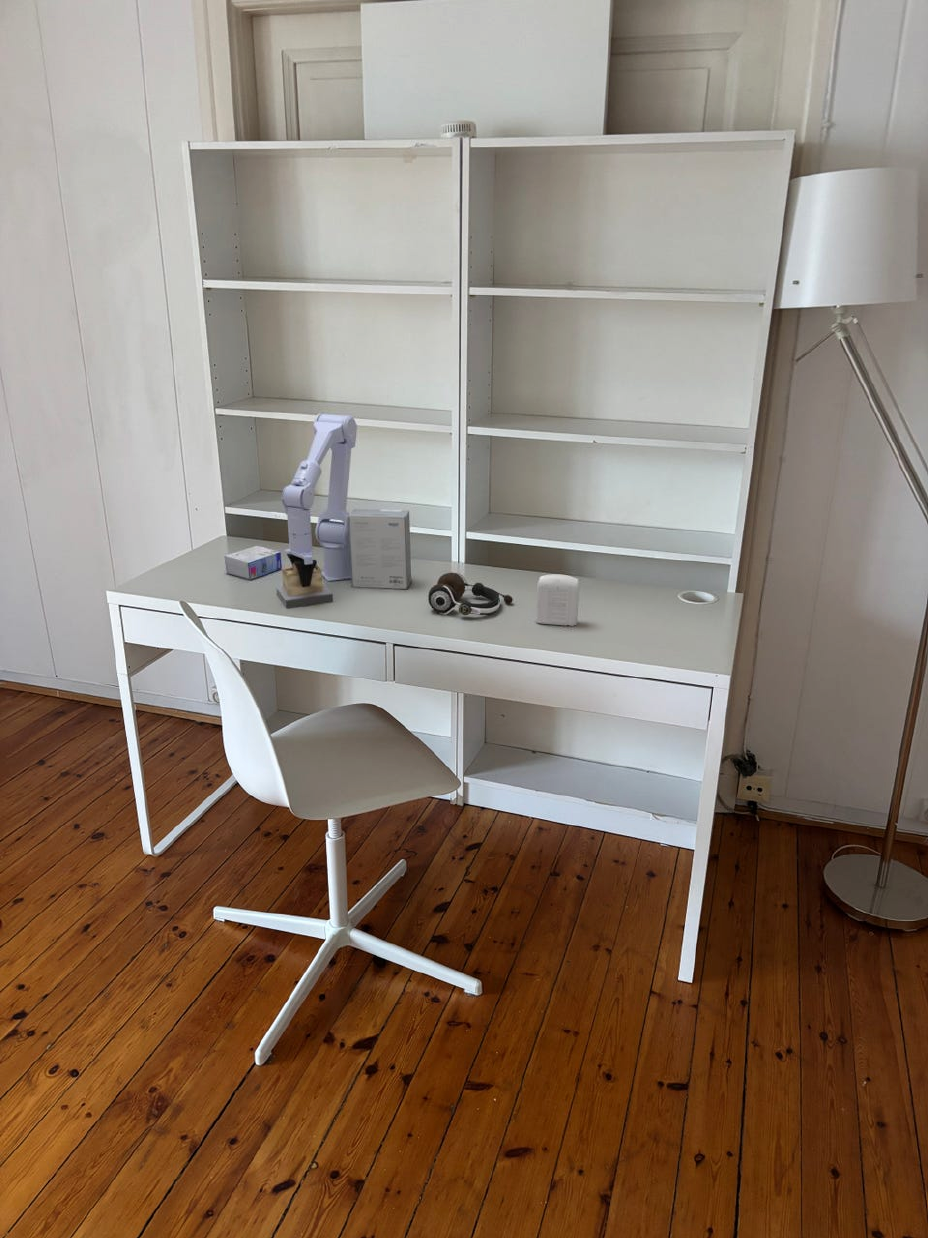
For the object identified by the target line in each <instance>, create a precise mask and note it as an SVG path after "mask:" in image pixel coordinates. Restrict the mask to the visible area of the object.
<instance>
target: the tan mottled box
mask: <svg viewBox="0 0 928 1238" xmlns="http://www.w3.org/2000/svg"><path fill="white" fill-rule="evenodd" d="M322 571H323V570H322V569H321V568H320V567H319V566H318V564H316V566H315V568H314V571H313V574H312V580H311V585H310V586H307V587H302V585H301V582H300V577H299V573H295V572H294V571H293V567H292V566H291V567H285V568H284V567H283V568H282V569H281V572H282V585H283V586H282V587H283V588H284V591H285V592H286V594H287V595H288V596H294V595H301V594H308V593H315V592H322V591H323V586H322V583H323V575H322Z"/></svg>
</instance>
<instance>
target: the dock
mask: <svg viewBox="0 0 928 1238" xmlns="http://www.w3.org/2000/svg"><path fill="white" fill-rule="evenodd" d="M322 586H323V591H322V592H315V593H308V594H301V595H294V596H288V595H287V594H286V592H285V591H284V588H283V586H278V587H277V586H276V595H277V596H278V598H279V600H280V601H281V603H283V605H284V606H285V608H286V609H292V608H299V607H306V606H307V607H308V606H313V605H321V604H326V603H328V604H329V603H333V602H334V596H333V593H332V592H331V591H330V590H329V589H328V587H326V585H325V584H324V582H322Z"/></svg>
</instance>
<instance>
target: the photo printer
mask: <svg viewBox="0 0 928 1238" xmlns="http://www.w3.org/2000/svg"><path fill="white" fill-rule="evenodd" d="M536 585H537V586H536V601H535V602H536V603H535V618H534V619H535V622H536V623H537V624H544V625H555V626H556V625H559V626H567V625H569V626H568V627H570V626H571V627H574V625H575V626H577V625H578V619H579V618H578V615H579V602H580V590H581V589H580V583H579V579H578V578H576V577H574V576H570V575H567V574H566V575H565V574H559V573H557V574H555V573H554V574H553V573H552V574H545V575H541V576H540V577H539V578H538V581H537V584H536Z"/></svg>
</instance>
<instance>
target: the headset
mask: <svg viewBox="0 0 928 1238" xmlns="http://www.w3.org/2000/svg"><path fill="white" fill-rule="evenodd" d="M436 583H437V584H435V585H433V586H432V587H431V588H430V590H429V591H428V596H427V597H428V599H427V600H428V604H429V606H430V607H431V609H432V610H434V611H435V612H437V613H438V614H441V615H442V616H443V615H448V614H449V613H450V612H452V611H453V610H456V611H458V612H459V613H460V614H461V615H463V616H468V615H469V614H470V615H471V614H472V615H477V616H490V615H493V614H494V613H496V611H497V610H498V609H499V608H500V605H501V601H502V599H501V597H502V598H503V601H504V602H505V603H506V604H511V603H512V602H513V597H512V596H511V595H509V594H506V595H504V594H502V593H499V592H498V591H496V590H495V589H492V588H490V587H487V586H485V585H484V584H483V583H482V582H475V583H474V584H473V583H469V582H468V581H467V579H466V578H465V576H464V575H463V574H462V573H461V572H458V571H453V572H446V573H444V574H442V575H441V576H440V577H439V578H438V580H437V582H436ZM466 587H471V588H466ZM466 591H471V593H472V595H473V596H475V597H479V596H480V597H483V598H485V599H487V600H489V602H488V601H487V602H485V603H484V602H483V603H472V602H470V601H468V600H464V601H462V602H461V603H460V602H458V600H459V599H461V598H462V597H463V596H464V594H465V592H466ZM457 605H458V608H457V607H456V606H457Z"/></svg>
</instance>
